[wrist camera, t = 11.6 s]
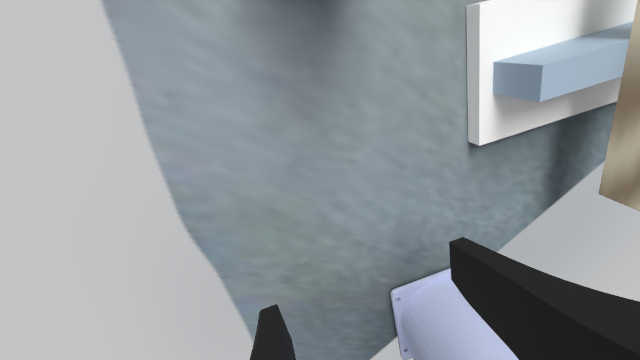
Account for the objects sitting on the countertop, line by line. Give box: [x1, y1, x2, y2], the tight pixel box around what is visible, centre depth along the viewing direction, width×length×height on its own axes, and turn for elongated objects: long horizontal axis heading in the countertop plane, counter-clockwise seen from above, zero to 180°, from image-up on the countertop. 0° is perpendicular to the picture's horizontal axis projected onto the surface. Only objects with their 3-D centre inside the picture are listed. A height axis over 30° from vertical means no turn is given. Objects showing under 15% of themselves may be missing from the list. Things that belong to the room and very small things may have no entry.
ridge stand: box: [466, 0, 637, 146], centre depth 20 cm, size 9×16×5 cm, turn 103°
